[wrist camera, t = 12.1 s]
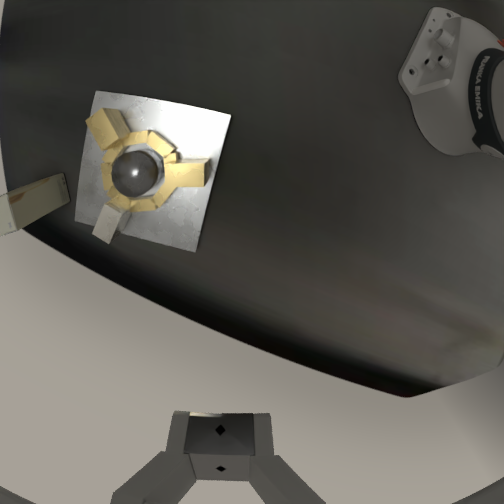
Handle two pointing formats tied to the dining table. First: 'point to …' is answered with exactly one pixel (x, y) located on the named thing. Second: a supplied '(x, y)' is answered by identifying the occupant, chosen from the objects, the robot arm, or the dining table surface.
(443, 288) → the dining table surface
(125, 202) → the ring nut
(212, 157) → the housing
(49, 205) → the skincare box
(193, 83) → the dining table surface
